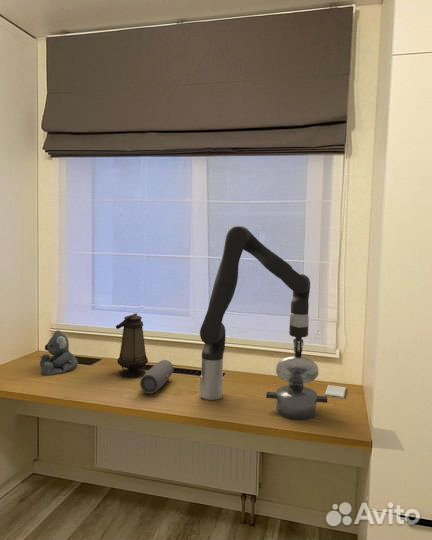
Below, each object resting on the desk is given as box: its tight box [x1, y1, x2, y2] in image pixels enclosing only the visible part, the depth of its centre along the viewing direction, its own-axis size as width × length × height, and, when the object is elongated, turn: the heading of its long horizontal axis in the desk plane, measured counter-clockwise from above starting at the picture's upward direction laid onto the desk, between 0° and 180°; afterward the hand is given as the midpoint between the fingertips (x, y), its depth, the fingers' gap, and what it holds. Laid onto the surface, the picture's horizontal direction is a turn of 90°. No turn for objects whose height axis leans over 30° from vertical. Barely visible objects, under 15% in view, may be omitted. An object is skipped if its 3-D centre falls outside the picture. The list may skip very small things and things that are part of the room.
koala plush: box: [39, 329, 79, 376], centre depth 223 cm, size 17×18×20 cm
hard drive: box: [324, 384, 347, 400], centre depth 201 cm, size 2×8×12 cm
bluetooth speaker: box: [139, 359, 174, 394], centre depth 202 cm, size 23×9×10 cm, turn 168°
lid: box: [275, 356, 319, 387], centre depth 182 cm, size 17×18×4 cm
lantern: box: [115, 313, 149, 379], centre depth 219 cm, size 18×15×30 cm
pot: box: [265, 384, 328, 421], centre depth 178 cm, size 24×16×8 cm, turn 81°
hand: (297, 365), depth 181 cm, fingers closed
